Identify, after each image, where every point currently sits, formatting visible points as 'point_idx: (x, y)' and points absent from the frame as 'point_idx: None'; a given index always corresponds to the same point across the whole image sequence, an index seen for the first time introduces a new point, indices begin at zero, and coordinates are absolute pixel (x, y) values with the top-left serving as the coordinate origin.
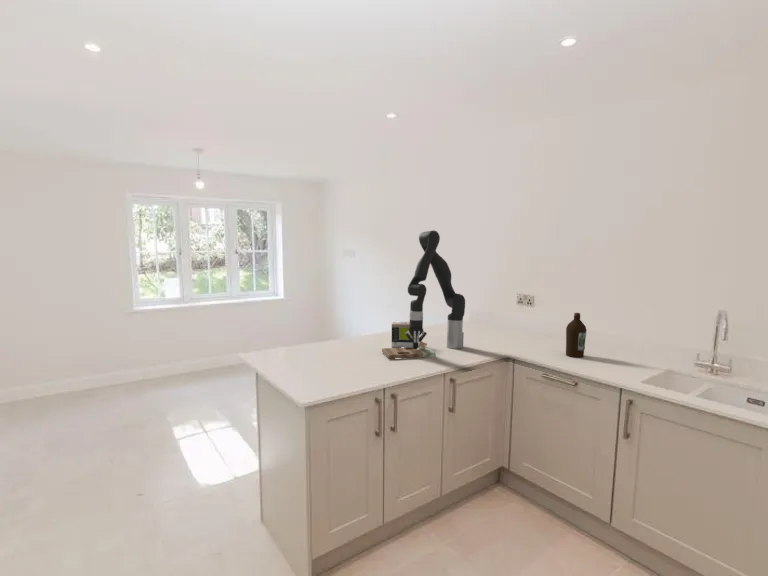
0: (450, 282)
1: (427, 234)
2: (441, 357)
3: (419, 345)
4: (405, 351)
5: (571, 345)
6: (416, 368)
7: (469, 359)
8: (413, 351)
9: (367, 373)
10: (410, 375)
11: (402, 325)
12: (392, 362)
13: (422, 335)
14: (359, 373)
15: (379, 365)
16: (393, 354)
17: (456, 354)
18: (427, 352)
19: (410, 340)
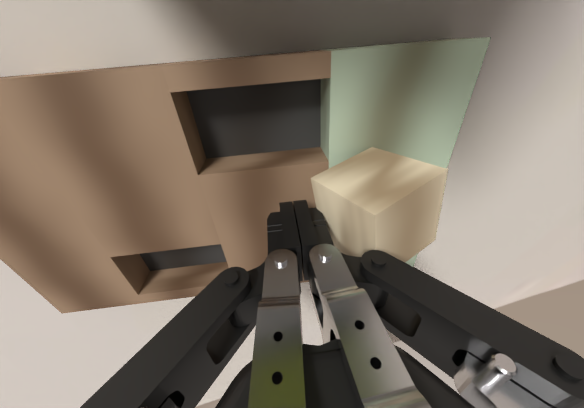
0: None
1: None
2: (432, 248)
3: (337, 246)
4: (191, 235)
5: None
6: (244, 361)
7: (536, 276)
8: (265, 235)
9: (53, 400)
10: (215, 397)
11: None
12: (125, 318)
13: (443, 355)
14: (19, 403)
15: (65, 349)
16: (97, 300)
17: (574, 193)
18: None
19: (223, 323)
